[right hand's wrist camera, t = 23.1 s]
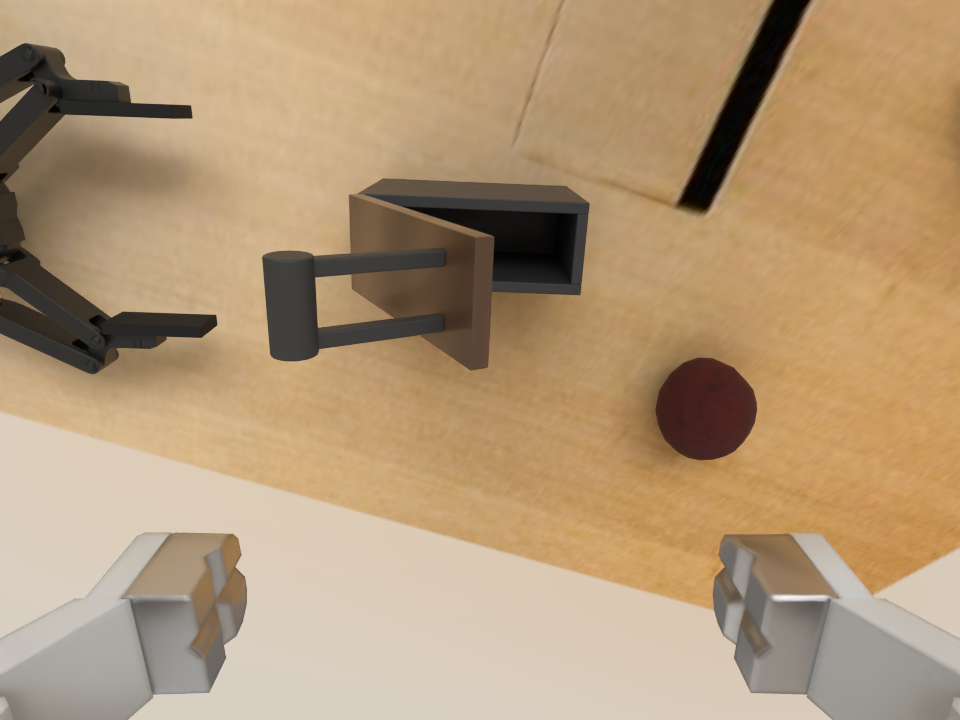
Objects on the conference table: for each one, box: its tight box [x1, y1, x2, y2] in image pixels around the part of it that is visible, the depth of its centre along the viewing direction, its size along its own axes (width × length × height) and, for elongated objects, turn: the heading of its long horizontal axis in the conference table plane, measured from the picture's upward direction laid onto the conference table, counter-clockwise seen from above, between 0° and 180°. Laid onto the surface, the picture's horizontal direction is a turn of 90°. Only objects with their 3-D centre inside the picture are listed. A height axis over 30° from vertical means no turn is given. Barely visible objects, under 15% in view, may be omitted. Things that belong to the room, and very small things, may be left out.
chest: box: [358, 179, 589, 295], centre depth 42 cm, size 13×6×10 cm, turn 88°
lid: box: [262, 194, 494, 370], centre depth 29 cm, size 14×6×8 cm
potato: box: [656, 358, 757, 460], centre depth 48 cm, size 7×8×7 cm
